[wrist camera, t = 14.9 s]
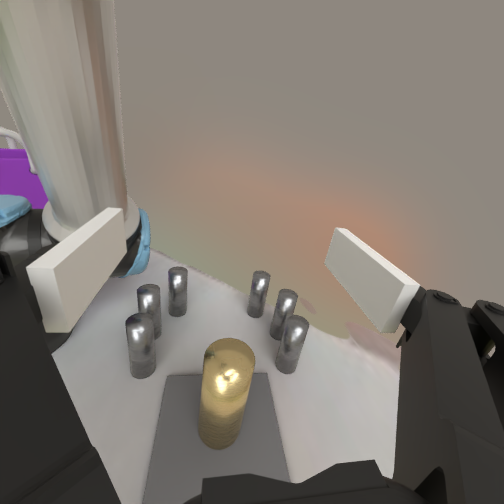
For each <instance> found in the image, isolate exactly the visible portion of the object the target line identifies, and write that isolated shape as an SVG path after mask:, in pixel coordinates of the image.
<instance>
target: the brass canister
mask: <svg viewBox="0 0 504 504" xmlns="http://www.w3.org/2000/svg"><path fill="white" fill-rule="evenodd" d="M254 366H255V356H254V353H253V351H252V349H251V348H250V347H249V346H248V345H247V344H246V343H244V342H242V341H240V340H237V339H233V338H224V339H220V340H217V341H215V342H214V343H212V344H211V345H210V346H209V347H208V348H207V350H206V352H205V355H204V365H203V376H202V388H201V399H200V411H199V422H198V432H199V436H200V438H201V440H202V442H203V443H204V444H205V445H206V446H207V447H209V448H211V449H214V450H222V449H226V448H228V447H229V446H231V445H232V444H233V443H234V442H235V441H236V439H237V437H238V435H239V432H240V428H241V423H242V419H243V415H244V410H245V406H246V401H247V397H248V392H249V388H250V383H251V379H252V375H253V370H254Z"/></svg>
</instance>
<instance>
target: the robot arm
mask: <svg viewBox="0 0 504 504" xmlns="http://www.w3.org/2000/svg"><path fill="white" fill-rule="evenodd" d="M0 90H1V92H2V94H3V97H4V99H5V101H6V104H7V106H8V108H9V111H10V113H11V115H12V117H13V120H14V122H15V124H16V127H17V129H18V131H19V134H20V136H21V138H22V140H23V143H24V145H25V147H26V150H27V152H28V154H29V156H30V159H31V161H32V163H33V166H34V168H35V170H36V172H37V175H38V177H39V179H40V182H41V184H42V186H43V188H44V191H45V193H46V195H47V198H48V200H49V201H48V202H47V203H46V205H45V207H44V209H33V208H32V204H31V203H30V202H29V201H28V199H27V198H25V197H22V196H14V195H0V504H121V502H120V500H119V498H118V495H117V493H116V491H115V489H114V487H113V484H112V482H111V480H110V478H109V475H108V473H107V471H106V469H105V467H104V464H103V462H102V460H101V458H100V456H99V454H98V452H97V450H96V449H95V447H93V446H92V444H91V442H90V440H89V438H88V436H87V434H86V431H85V429H84V427H83V425H82V422H81V420H80V418H79V416H78V413H77V411H76V409H75V407H74V404H73V402H72V400H71V398H70V395H69V393H68V391H67V389H66V386H65V384H64V382H63V380H62V377H61V375H60V373H59V371H58V368H57V366H56V364H55V362H54V359H53V357H52V355H51V353H52V352H53V351H55V350H56V349H57V348H59V347H60V346H61V345H62V344H63V343H64V342H65V341H66V340H67V338H68V337H69V336H70V334H71V332H72V330H73V327H74V325H75V324H76V323H77V321H78V320H79V318H80V317H81V316H82V314H83V313H84V311H85V310H86V309H87V307H88V306H89V304H90V303H91V302H92V300H93V299H94V297H95V296H96V295H97V293H98V292H99V290H100V289H101V288H102V286H103V285H104V283H105V282H106V281H107V279H108V278H114V277H119V278H124V277H127V276H130V275H135V274H139V273H142V272H143V271H144V270H145V269H146V267H147V265H148V261H149V256H150V247H149V246H150V224H149V219H148V215H147V213H146V212H145V211H144V210H143V209H139V208H137V205H136V203H135V202H134V201H133V200H132V199H131V198H130V197H129V196H128V195H127V185H126V170H125V156H124V141H123V126H122V111H121V97H120V83H119V68H118V53H117V38H116V24H115V9H114V0H0ZM325 265H326V266H327V268H328V269H329V270H330V271H331V273H332V274H333V275H334V276H335V278H336V279H337V280H338V281H339V282H340V284H341V285H342V286H343V287H344V288H345V290H346V291H347V292H348V294H349V295H350V296H351V297H352V298H353V300H354V301H355V302H356V303H357V304H358V306H359V307H360V308H361V309H362V311H363V312H364V313H365V314H366V316H367V317H368V318H369V319H370V321H371V322H372V323H373V324H374V325H375V327H376V328H377V329H378V330H379V332H380V333H395V332H396V330H397V328H398V326H399V324H400V323H401V324H402V325H403V326H404V327H405V328H406V329H405V331H404V333H403V335H402V336H401V338H400V340H399V342H398V343H397V345H396V347H397V348H399V346H401V363H400V380H399V397H398V414H397V431H396V448H395V464H394V474H393V478H392V479H390V478H387V477H384V476H382V474H381V472H380V470H379V468H378V466H377V464H376V462H375V460H366V461H357V462H348V463H339V464H335V465H333V466H331V467H330V468H328V469H326V470H324V471H322V472H320V473H318V474H317V475H315V476H313V477H311V478H309V479H307V480H305V481H304V482H302V483H297V484H295V483H290V482H286V481H281V480H277V479H273V478H268V477H264V476H259V475H255V474H251V473H246V474H237V475H228V476H219V477H209V478H203V479H202V489H201V494H199V495H197V496H195V497H193V498H191V499H189V500H187V501H186V502H184V503H183V504H504V307H503V306H501V305H498V304H496V303H493V302H492V303H491V302H488V301H483V300H478V301H476V303H475V305H474V306H473V307H472V309H471V308H467V307H462V306H461V304H460V303H459V301H458V300H457V299H455V298H453V297H452V296H450V295H448V294H446V293H444V292H440V291H437V290H427V291H426V290H425V289H424V288H422V287H421V286H420V285H419V284H418V283H417V282H415V281H414V280H413V279H411V278H410V277H409V276H408V275H406V274H405V273H404V272H402V271H401V270H400V269H398V268H397V267H396V266H394V265H393V264H391V263H390V262H389V261H388V260H386V259H385V258H384V257H382V256H381V255H380V254H379V253H377V252H376V251H375V250H373V249H372V248H371V247H369V246H368V245H367V244H365V243H364V242H363V241H361V240H360V239H359V238H357V237H356V236H355V235H353V234H352V233H351V232H350V231H348V230H347V229H344V228H335V231H334V234H333V237H332V240H331V244H330V247H329V250H328V253H327V256H326V260H325ZM494 346H495V347H496V348H495V352H494V354H493V355H492V357H491V358H490V356H489V355H488V353H489V352H490V351H491V349H492V348H493V347H494Z"/></svg>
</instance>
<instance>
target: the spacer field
mask: <svg viewBox="0 0 504 504" xmlns="http://www.w3.org/2000/svg"><path fill="white" fill-rule="evenodd" d="M187 272H188V271H187V269H186V268H184V267H173V268H171V269H169V271H168V276H169V314H170V315H172V316H174V317H179V316H183V315H184V314H185V313H186V309H187ZM269 281H270V275H269V274H268V273H267V272H264V271H256V272H254V274H253V280H252V286H251V292H250V298H249V304H248V310H247V313H248V315H249V316H251V317H254V318H259V317H261V316H262V315H263V310H264V305H265V301H266V296H267V290H268V285H269ZM137 298H138V310H139V313H136V314H134V315H132V316H130V317H129V318H128V319H127V320H126V323H125V324H126V333H127V341H128V350H129V358H130V367H131V374H132V376H133V377H135V378H137V379H143V378H146V377H148V376H150V375H151V374H152V373H153V372H154V370H155V367H156V365H155V345H154V340H156V339H157V338H159V337H160V335H161V308H160V288H159V286H157V285H154V284H146V285H143V286H141V287H139V288H138V289H137ZM297 298H298V295H297V294H296V293H295V292H294V291H292V290H289V289H282V290H280V291H279V295H278V299H277V303H276V308H275V312H274V316H273V321H272V325H271V329H270V335H271V336H272V337H273V338H274V339H276V340H282V341H281V344H280V348H279V352H278V356H277V360H276V367H277V369H278V370H279V371H280V372H282V373H284V374H291V373H293V372H294V371H295V369H296V366H297V362H298V359H299V356H300V353H301V350H302V347H303V344H304V341H305V337H306V334H307V331H308V328H309V323H308V321H307V320H306V319H305V318H303V317H301V316H298V315H293V313H294V309H295V305H296V302H297Z"/></svg>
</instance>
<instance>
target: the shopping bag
mask: <svg viewBox="0 0 504 504" xmlns="http://www.w3.org/2000/svg"><path fill="white" fill-rule="evenodd" d="M0 136H4V137H5V138H6V140H7V142H8V146H9V149H1V148H0V195H14V196H22V197H25V198H27V199H28V201H29V202H30V203H31V204H32V208H33V209H44V207H45V205H46V203H47V202H48V201H49V200H48V198H47V195H46V193H45V191H44V188H43V186H42V184H41V182H40V179H39V177H38V175H37V172H36V170H35V168H34V166H33V163H32V161H31V159H30V156H29V154H28V152H27V150H26V147H25V145H24V143H23V140H22V138H21V136H20V134H18V133H16V132H14V131H11V130H8V129H5V128H3V127H1V126H0ZM15 140H16V141H18V142H19V143H20V144H21V145H22V146H23V147H24V148H25V149H17V145H16V142H15Z"/></svg>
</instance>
